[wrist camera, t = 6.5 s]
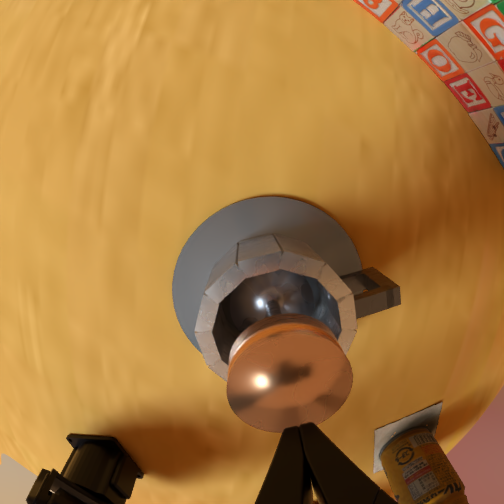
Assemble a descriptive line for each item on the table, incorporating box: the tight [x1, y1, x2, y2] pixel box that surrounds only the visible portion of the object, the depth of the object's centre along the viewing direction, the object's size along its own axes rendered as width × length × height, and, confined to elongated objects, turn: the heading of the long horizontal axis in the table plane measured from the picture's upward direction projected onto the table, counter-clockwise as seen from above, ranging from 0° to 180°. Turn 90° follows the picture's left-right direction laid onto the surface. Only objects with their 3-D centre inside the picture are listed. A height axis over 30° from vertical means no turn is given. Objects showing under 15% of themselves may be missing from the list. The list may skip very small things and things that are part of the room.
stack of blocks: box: [354, 0, 504, 168], centre depth 9 cm, size 21×6×12 cm, turn 50°
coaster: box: [172, 196, 363, 353], centre depth 18 cm, size 12×12×1 cm
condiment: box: [373, 402, 469, 504], centre depth 17 cm, size 7×8×12 cm
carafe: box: [194, 233, 401, 382], centre depth 16 cm, size 10×8×5 cm
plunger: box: [227, 269, 353, 433], centre depth 13 cm, size 5×5×8 cm
